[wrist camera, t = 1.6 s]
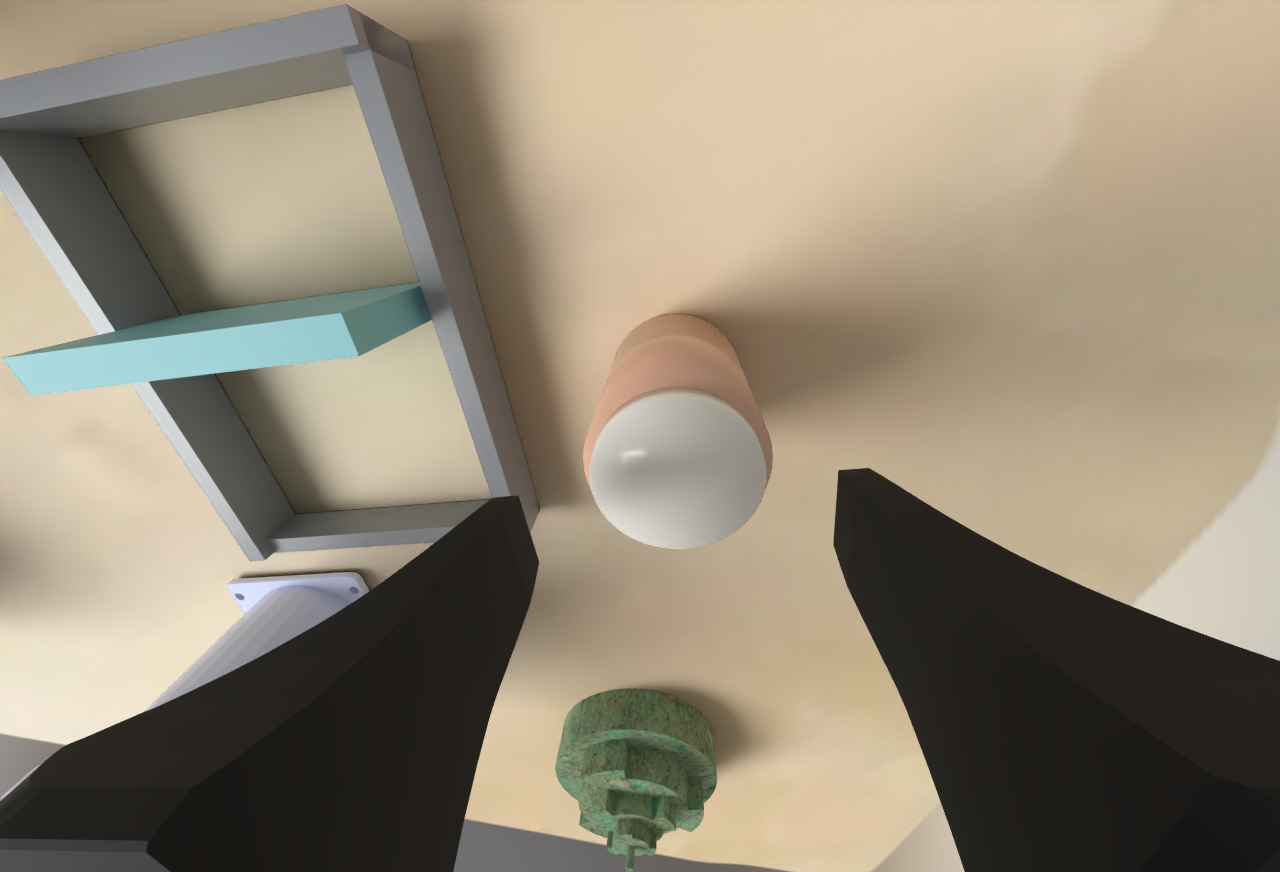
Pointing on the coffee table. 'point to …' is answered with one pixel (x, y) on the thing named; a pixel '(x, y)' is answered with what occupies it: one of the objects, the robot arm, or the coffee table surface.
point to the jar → (677, 437)
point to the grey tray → (133, 295)
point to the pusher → (227, 340)
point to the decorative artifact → (637, 767)
